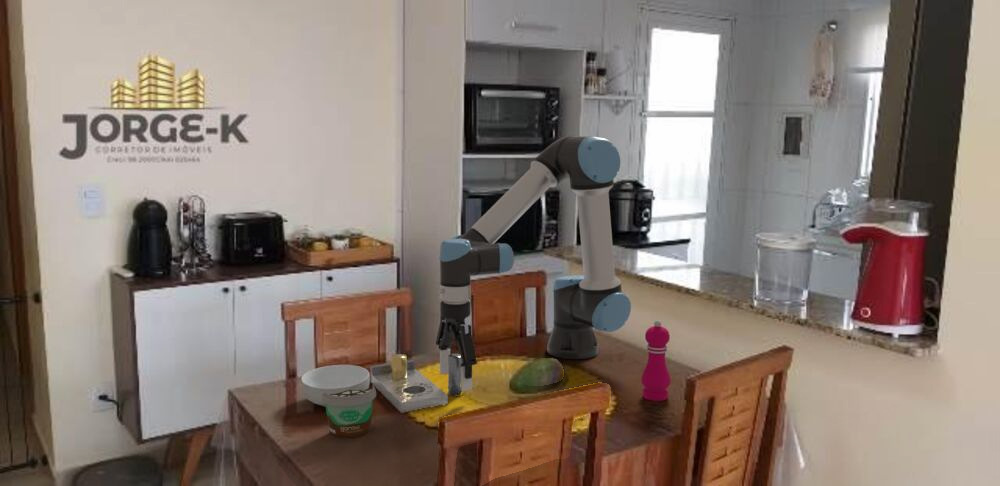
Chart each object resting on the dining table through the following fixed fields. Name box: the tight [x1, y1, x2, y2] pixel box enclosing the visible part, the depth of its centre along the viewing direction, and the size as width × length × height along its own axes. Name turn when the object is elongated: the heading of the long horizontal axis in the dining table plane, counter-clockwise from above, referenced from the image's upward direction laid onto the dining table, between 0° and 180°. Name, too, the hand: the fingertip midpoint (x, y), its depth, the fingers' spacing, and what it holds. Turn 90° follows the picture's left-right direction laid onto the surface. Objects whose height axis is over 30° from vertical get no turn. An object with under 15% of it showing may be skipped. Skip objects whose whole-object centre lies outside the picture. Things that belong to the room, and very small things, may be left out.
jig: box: [369, 353, 449, 414], centre depth 204 cm, size 12×24×8 cm, turn 27°
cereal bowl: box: [300, 364, 371, 408], centre depth 198 cm, size 17×17×7 cm
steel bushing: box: [447, 353, 462, 397], centre depth 203 cm, size 4×4×10 cm
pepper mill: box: [640, 319, 671, 402], centre depth 200 cm, size 7×7×20 cm
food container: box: [322, 384, 377, 439], centre depth 178 cm, size 12×6×10 cm, turn 114°
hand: (455, 381), depth 204 cm, fingers open, 13 cm apart
